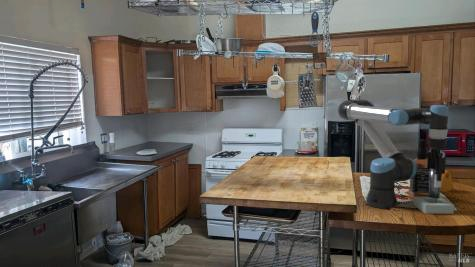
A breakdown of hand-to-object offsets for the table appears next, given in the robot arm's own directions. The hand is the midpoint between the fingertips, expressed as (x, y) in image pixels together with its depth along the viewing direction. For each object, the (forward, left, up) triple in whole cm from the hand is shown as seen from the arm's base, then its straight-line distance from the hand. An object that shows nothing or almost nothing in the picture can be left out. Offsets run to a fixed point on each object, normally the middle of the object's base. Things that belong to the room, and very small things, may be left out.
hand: (434, 185), depth 174 cm
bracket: (+22, +37, -13) cm, 45 cm away
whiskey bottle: (+3, +21, -13) cm, 25 cm away
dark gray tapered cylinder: (0, 0, -6) cm, 6 cm away
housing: (0, 0, -13) cm, 13 cm away
